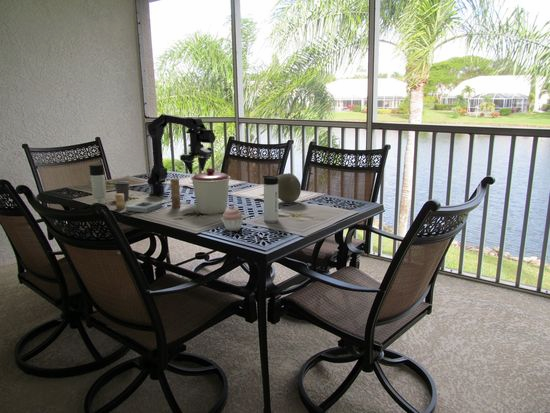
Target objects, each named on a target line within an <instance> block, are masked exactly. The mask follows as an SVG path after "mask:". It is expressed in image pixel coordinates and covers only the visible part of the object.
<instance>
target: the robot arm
mask: <svg viewBox="0 0 550 413" xmlns="http://www.w3.org/2000/svg"><path fill="white" fill-rule="evenodd" d="M168 123H171V124H176V125H182V126H183V127H185V128H187V130H186V131H185V134H189V144H188V147H189V148H190V149H189V150H190V151H189V152H188V154H187V153H184V154H181V155H180V161H181V162H183V164H184V165H185V166H186V168H187V170H188V171H189V174H191V175H192V174H193V167H194V166H193V164H194V162H195V159H196V158H197V159H198V164H199V168H200V171H201V172H204V170H205V167H206V163H207V161H208V160H209V159H210V158H211V157H212V155H213V147H212V146H208V147H205V146H204V144H205V143H206V144H214V143H215V141H216V135H215V133H214V131H213V130H214V129H207V127H206V126H205V125H204V123H203V120H202V119H201V117H199V116H197V117H195V116H194V117H184V116H181V115H180V116H179V115H176V114H175V115H174V114H169V113H162V114H160V115H159V116H158V117H156V118H155V119H154V120H152V121H151V122H149V123H148V124H147V131H148V135H149V136H150V138H151V145H152V161H153V163H152V164H153V166H152V167H151V171H150V177H149V178H148V179H147V180H146V182H147V184H148V185H149V186H150V193H149V196H157V197H159V196H162V195H165V194H166V192H165V186H164V183H165V182H166V179H167V178H168V175H169V174H168V167H165V166H164V160H163V143H162V138H163V136H164V132H165V128H166V127H167V126H168Z"/></svg>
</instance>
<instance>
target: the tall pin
mask: <svg viewBox="0 0 550 413" xmlns="http://www.w3.org/2000/svg"><path fill="white" fill-rule="evenodd" d="M169 180H170V194H171V196H170V197H171V208H172V209H180V208H181V194H180V179H179V178H170V179H169Z"/></svg>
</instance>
